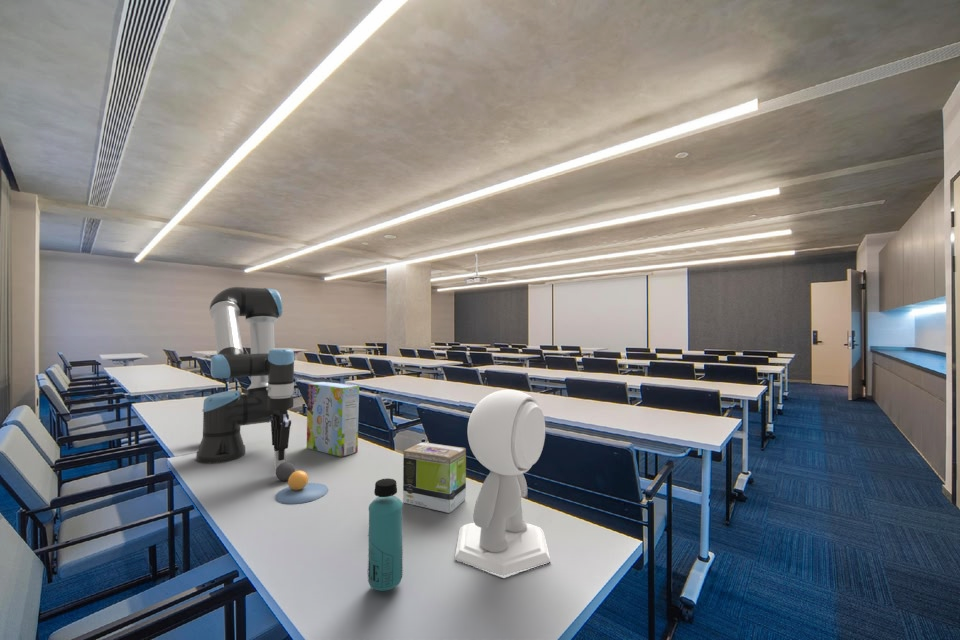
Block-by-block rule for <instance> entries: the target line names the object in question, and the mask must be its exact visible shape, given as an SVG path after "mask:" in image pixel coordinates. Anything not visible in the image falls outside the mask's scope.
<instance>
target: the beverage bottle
mask: <svg viewBox="0 0 960 640" xmlns="http://www.w3.org/2000/svg"><path fill="white" fill-rule="evenodd" d="M373 493H374V495H375V496H376V497H375V498H374V499H373V501H372V502H371V503H370V504H369V505H368V529H367V532H368V533H367V534H368V535H367V536H368V555H367V558H368V560H367V579H368V580H367V581H368V585H369V586H370V588H372V590H375V591H381V592H383V591H389V590H392V589H394V588H396V587H398V586H399V585H400V583H401V582H402V578H403V576H404V575H403V569H404V566H403V558H404V556H403V546H404V545H403V506H404V504H403V502H402V501H403V500H401V499H400V498H398V497H397V496H395V495H397V493H398V487H397V481H396V479H393V478H381V479H379V480H376V482H375V484H374V492H373Z"/></svg>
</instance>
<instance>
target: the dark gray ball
mask: <svg viewBox="0 0 960 640" xmlns="http://www.w3.org/2000/svg"><path fill="white" fill-rule="evenodd" d="M295 471H296V468H295V465H294V464H293V463H292V462H289V461H285V462H284V463H281V464H280V465H279V466H278V467H277V469H276V471H275V476H276V478H277V479H278V480H279V481H283V482H284V481H288V479H289V477H290V475H291V474H292V473H293V472H295Z"/></svg>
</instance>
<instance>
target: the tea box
mask: <svg viewBox="0 0 960 640" xmlns="http://www.w3.org/2000/svg"><path fill="white" fill-rule="evenodd" d="M402 461H403V462H402V463H403V464H402V465H403V469H402V470H403V472H402V473H403V475H402V479H403V481H402V482H403V483H402V484H403V485H402V491H403V492H402V494H403V496H402V498H403V499H402V501H403V502H402V503H404V504H407V505H408V504H409V505H412V506H417V507H421V508H426V509H431V510H435V511H440V512H443V513H447V514H450V513H451V512H454V510H455V509H457V507H459V506H460V505H461V504H462V503H463V502H465V500H466V496H467V495H466V491H467V489H466V488H467V480H466V479H467V477H466V476H467V470H466V469H467V448H466V447H461V446H460V447H459V446H453V445H445V444H441V443H440V444H438V443H433V442H432V443H431V442H424V441H422V442H419V443H417V444H415V445H413V446H411V447H409V448H406V449H405V450H403V460H402Z"/></svg>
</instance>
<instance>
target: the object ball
mask: <svg viewBox="0 0 960 640" xmlns="http://www.w3.org/2000/svg"><path fill="white" fill-rule="evenodd" d="M307 483H309V475H308V474H307V472H305V471H304V470H295V472H293V473H292V474H291V475H290V477H289V479H288V480H287V485H288V487H290V488H291V489H292V490H296V491H297V490H301V489H303V488H304V487H305V486H306V485H307Z"/></svg>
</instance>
